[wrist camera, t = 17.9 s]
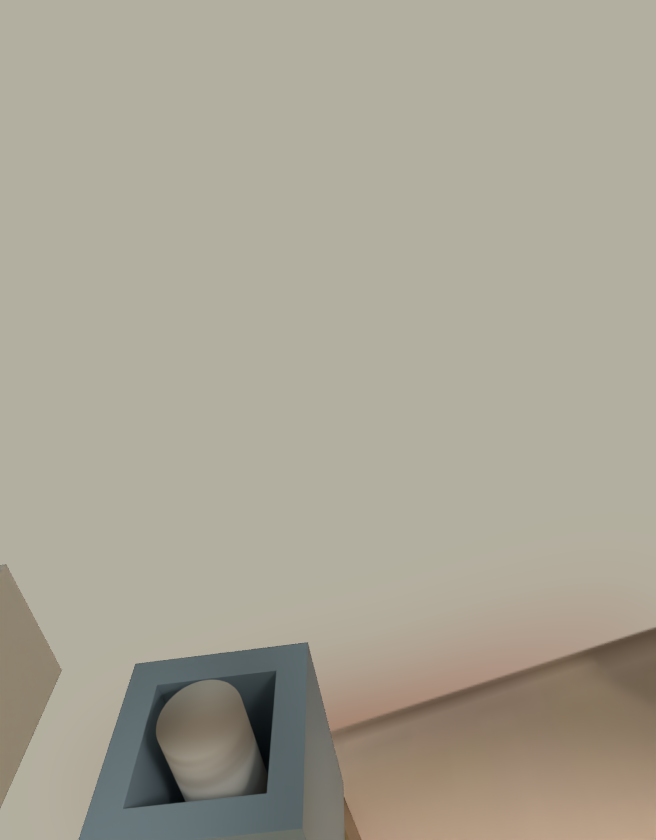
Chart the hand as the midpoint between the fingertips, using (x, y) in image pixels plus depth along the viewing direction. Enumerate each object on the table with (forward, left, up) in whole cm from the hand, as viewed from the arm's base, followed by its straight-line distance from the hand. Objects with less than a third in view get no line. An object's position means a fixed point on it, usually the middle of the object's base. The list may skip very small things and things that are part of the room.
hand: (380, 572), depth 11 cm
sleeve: (+11, +5, -26) cm, 29 cm away
